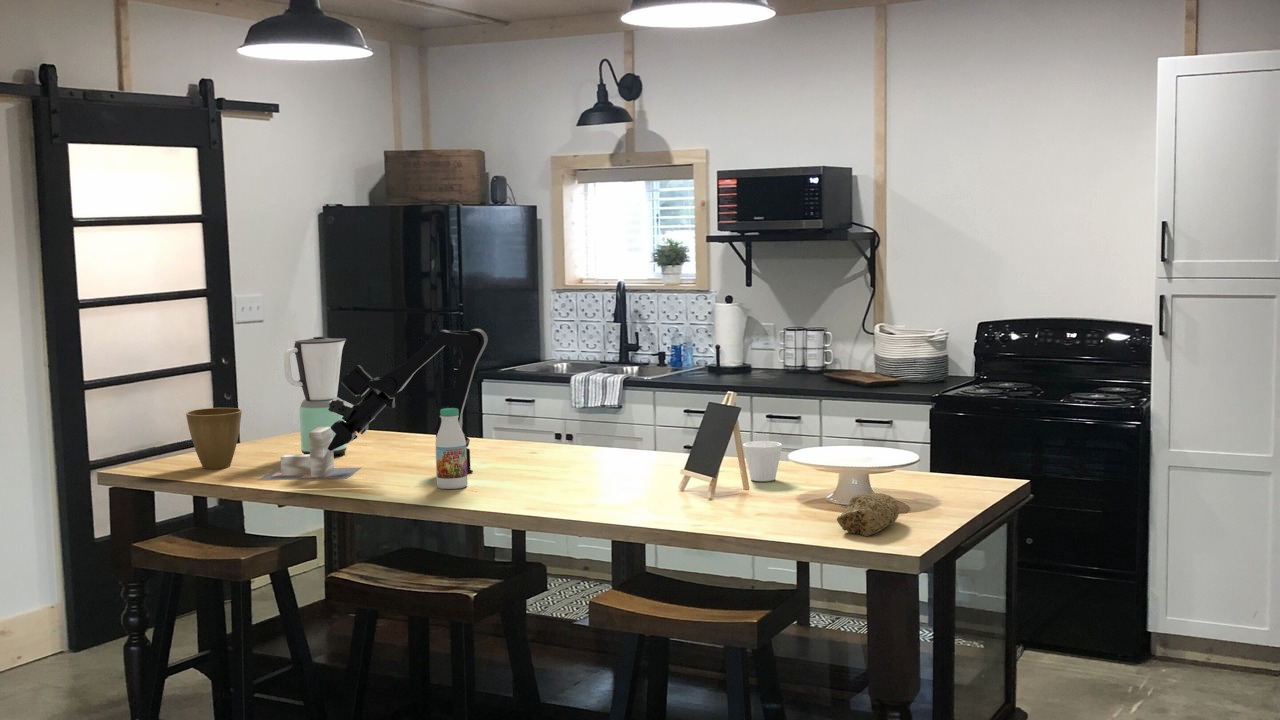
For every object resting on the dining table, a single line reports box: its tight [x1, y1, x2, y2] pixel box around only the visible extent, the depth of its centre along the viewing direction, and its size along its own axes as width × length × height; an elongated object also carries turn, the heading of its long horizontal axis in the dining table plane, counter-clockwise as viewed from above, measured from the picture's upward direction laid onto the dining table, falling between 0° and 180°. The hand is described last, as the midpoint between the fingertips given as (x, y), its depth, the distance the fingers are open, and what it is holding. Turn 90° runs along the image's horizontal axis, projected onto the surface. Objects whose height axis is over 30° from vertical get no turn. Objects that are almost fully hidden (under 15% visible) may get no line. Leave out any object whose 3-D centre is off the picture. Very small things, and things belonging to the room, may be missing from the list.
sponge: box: [836, 492, 900, 537], centre depth 267 cm, size 13×8×20 cm
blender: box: [283, 336, 348, 457], centre depth 371 cm, size 19×13×35 cm
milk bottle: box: [435, 407, 469, 490], centre depth 320 cm, size 8×8×20 cm
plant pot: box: [185, 407, 242, 470], centre depth 357 cm, size 15×15×16 cm
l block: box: [280, 427, 335, 477], centre depth 341 cm, size 12×10×12 cm
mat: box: [257, 467, 362, 481], centre depth 341 cm, size 24×16×1 cm, turn 88°
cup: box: [742, 440, 783, 483], centre depth 319 cm, size 10×10×9 cm
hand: (329, 449), depth 341 cm, fingers closed
